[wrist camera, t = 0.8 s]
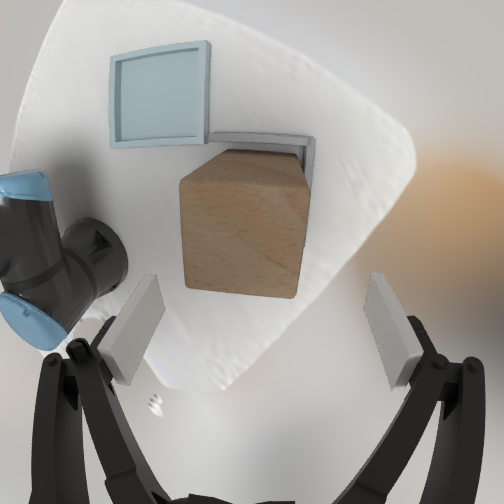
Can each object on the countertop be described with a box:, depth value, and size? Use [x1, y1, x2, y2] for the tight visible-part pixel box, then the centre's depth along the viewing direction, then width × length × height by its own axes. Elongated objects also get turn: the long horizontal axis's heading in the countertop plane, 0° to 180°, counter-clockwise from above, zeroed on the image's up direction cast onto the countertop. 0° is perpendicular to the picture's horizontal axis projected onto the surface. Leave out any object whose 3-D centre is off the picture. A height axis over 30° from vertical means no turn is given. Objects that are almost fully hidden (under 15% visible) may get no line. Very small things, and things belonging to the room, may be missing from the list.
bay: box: [208, 132, 315, 247], centre depth 38 cm, size 14×15×4 cm
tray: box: [109, 40, 211, 149], centre depth 34 cm, size 15×15×2 cm
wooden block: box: [179, 149, 311, 299], centre depth 31 cm, size 10×10×20 cm
